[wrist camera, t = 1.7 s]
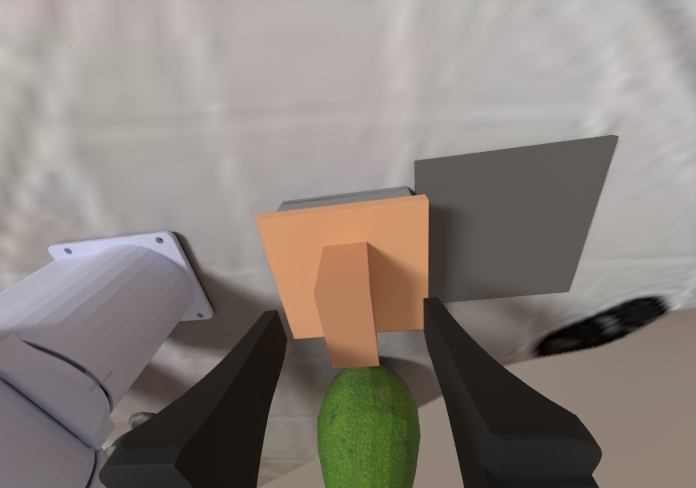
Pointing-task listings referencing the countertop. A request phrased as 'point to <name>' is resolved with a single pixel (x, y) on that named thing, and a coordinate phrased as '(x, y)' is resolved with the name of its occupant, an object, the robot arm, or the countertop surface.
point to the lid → (350, 272)
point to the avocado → (368, 430)
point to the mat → (510, 217)
